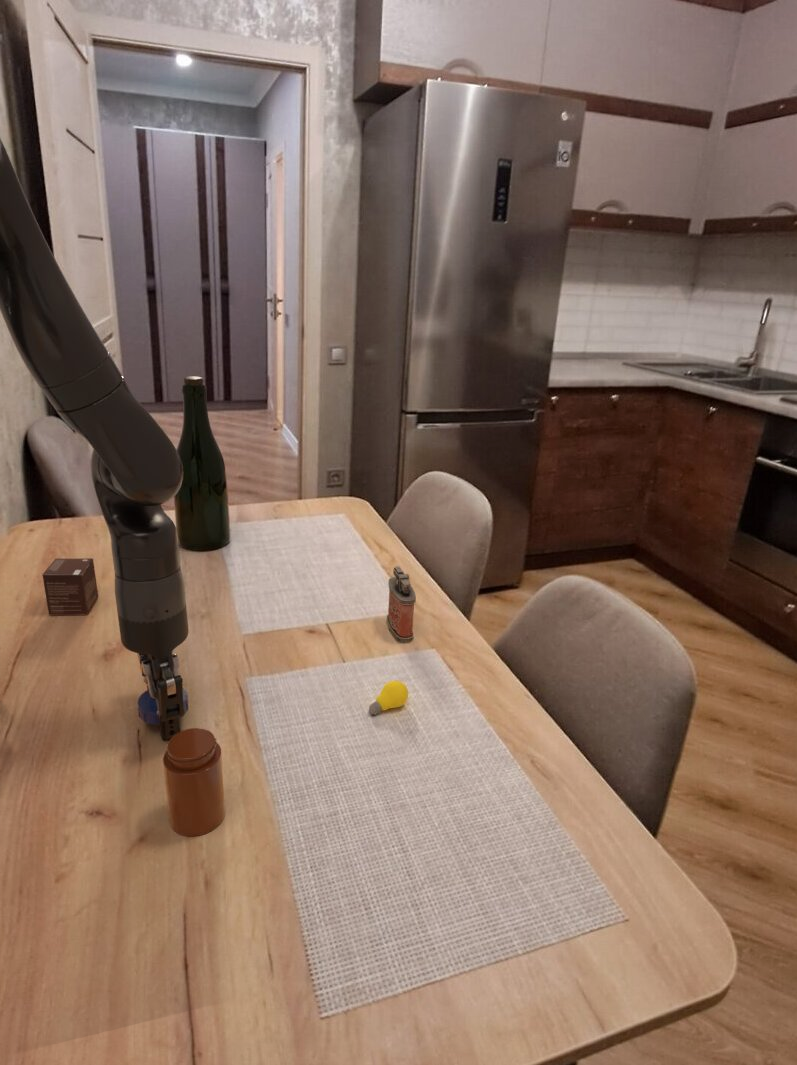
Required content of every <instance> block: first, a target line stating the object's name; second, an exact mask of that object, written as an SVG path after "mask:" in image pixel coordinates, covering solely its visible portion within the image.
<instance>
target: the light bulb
mask: <svg viewBox="0 0 797 1065" xmlns="http://www.w3.org/2000/svg"><path fill="white" fill-rule="evenodd" d="M408 698H409V690H408V688H407V686H406V684H404V683H403V682H402V681H400V680H390V681H388V682H386V683H385V684H383V686H382V689H381V691H380V693H379V694H378V696H377V697H376V698H375V701H374V702H372V704H370V705H369V706H368V713H369V714H370V715H375V716H376V715H377V714H379V713H380V712H382V711H387V710H389V709H396V708H400V707H402V706H404V705H405V704H406V703H407V700H408Z"/></svg>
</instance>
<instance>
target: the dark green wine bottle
mask: <svg viewBox="0 0 797 1065" xmlns="http://www.w3.org/2000/svg"><path fill="white" fill-rule="evenodd" d="M181 395H182V406H183V408H182V409H183V417H182V418H183V420H182V428H181V434H180V437H179V440H178V444H177V447H176V450H177V452H178V454H179V456H180V459H181V462H182V467H183V480H182V484H181V487H180V489H179V491H178V493H177V494H176V495H175V496H174V497H173V504H174V506H173V507H174V520H175V522H174V523H175V527H176V530H177V535H178V542H179V546H180V547H182V548H184V549H188V550H191V551H200V552H201V551H202V552H203V551H212V550H216V549H219V548H221V547H224V546H225V545H227V544H228V543H229V542H230V540H231V518H230V504H229V502H230V501H229V491H228V490H229V488H228V477H227V469H226V464H225V463H226V462H225V460H224V459H225V458H224V456H223V453H222V451H221V448H220V446H219V445H218V444H219V443H217V440H216V437H215V435H214V433H213V431H212V427H211V423H210V419H209V410H208V402H207V401H208V400H207V387H206V384H205V383H204V379H203V377H202V376H197V375H195V376H194V375H192V376H185V377H184V378H183V384H182V385H181Z"/></svg>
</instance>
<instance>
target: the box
mask: <svg viewBox="0 0 797 1065" xmlns="http://www.w3.org/2000/svg"><path fill="white" fill-rule="evenodd" d="M42 579H43V587H44V588H43V589H44V592H45V593H44V594H45V599H46V605H47V613H48V615H49V616H65V615H66V616H72V615H73V616H79V615H80V616H87V615H88V614H90V611H91V610H92V608H93V606H94V604H96V602H97V600H98V598H99V593H98V585H97V578H96V570H95V563H94V558H90V557H89V558H87V557H85V558H54V560H53V561H52V562H51V563H50V565H49V566H48V567H47V568H46V570H44V572H43V573H42Z"/></svg>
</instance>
